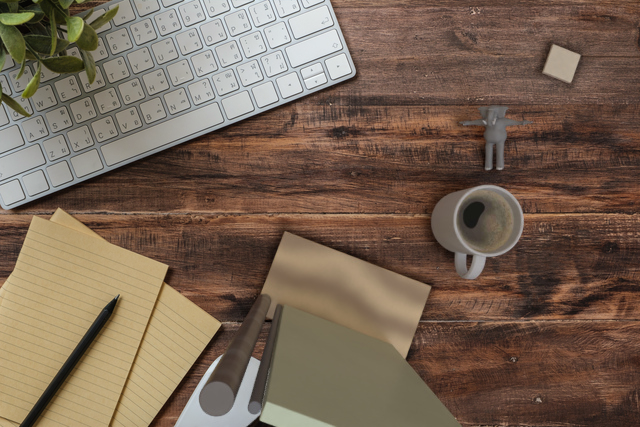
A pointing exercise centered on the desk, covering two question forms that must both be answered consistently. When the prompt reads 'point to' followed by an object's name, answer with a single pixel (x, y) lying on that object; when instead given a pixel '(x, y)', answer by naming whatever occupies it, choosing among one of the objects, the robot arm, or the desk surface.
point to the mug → (477, 225)
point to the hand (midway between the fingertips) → (320, 407)
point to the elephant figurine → (494, 132)
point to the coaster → (561, 64)
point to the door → (338, 379)
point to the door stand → (320, 307)
